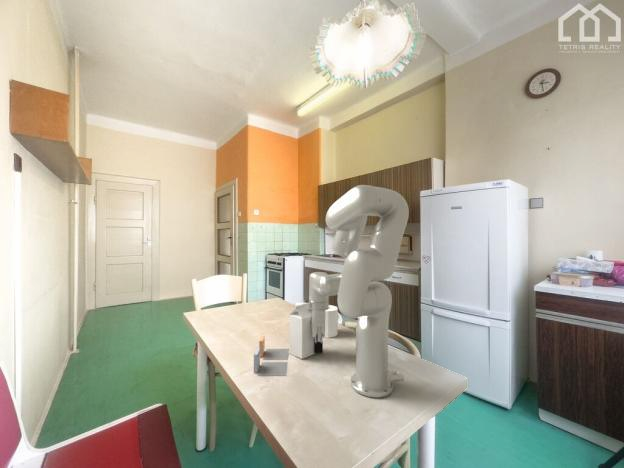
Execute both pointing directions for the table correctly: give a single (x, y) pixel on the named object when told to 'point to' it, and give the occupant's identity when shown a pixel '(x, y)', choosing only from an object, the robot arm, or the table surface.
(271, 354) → the tag station
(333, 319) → the toilet paper
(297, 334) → the milk carton
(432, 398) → the table surface
